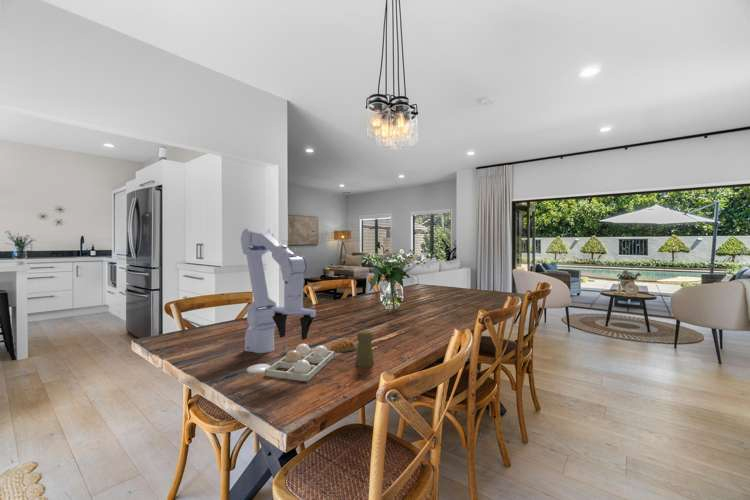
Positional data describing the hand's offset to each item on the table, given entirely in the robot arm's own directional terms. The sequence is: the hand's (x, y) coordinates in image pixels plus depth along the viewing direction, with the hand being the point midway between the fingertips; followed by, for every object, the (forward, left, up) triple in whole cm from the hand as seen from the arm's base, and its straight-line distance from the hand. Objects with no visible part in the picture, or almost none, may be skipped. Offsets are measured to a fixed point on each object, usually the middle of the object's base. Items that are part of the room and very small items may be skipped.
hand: (293, 337), depth 102 cm
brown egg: (0, 0, -9) cm, 9 cm away
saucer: (-8, -6, -9) cm, 14 cm away
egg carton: (+3, 0, -9) cm, 10 cm away
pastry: (+10, +19, -10) cm, 24 cm away
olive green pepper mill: (+21, +8, -10) cm, 25 cm away
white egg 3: (+7, +6, -9) cm, 13 cm away
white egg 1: (0, +6, -9) cm, 11 cm away
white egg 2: (+7, -7, -9) cm, 13 cm away
